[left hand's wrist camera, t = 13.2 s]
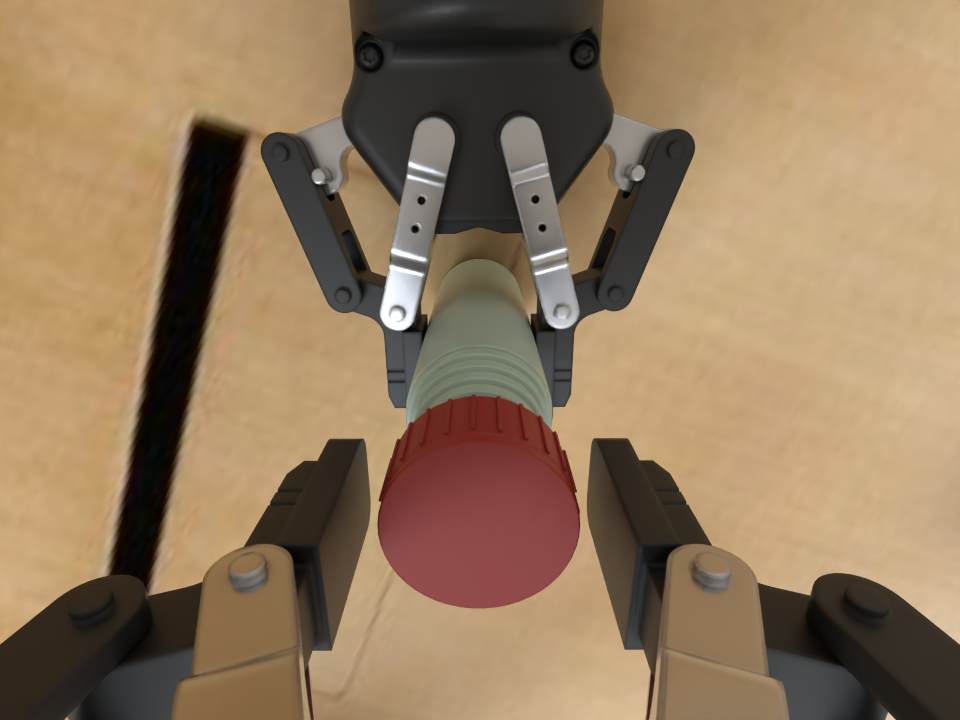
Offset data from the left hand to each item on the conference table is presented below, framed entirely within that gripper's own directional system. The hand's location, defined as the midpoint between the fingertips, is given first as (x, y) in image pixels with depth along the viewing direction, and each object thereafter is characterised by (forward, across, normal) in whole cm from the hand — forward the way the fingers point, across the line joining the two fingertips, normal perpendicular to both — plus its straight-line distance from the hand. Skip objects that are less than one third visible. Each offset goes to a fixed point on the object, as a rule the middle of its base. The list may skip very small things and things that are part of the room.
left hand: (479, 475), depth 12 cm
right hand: (+9, 0, -3) cm, 9 cm away
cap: (-2, 0, 0) cm, 2 cm away
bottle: (+15, 0, 0) cm, 15 cm away
